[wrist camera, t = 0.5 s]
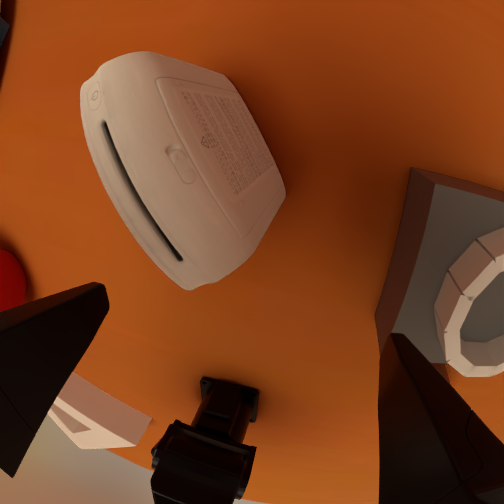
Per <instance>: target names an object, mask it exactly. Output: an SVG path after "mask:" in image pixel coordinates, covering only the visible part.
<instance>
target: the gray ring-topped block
mask: <svg viewBox="0 0 504 504" xmlns="http://www.w3.org/2000/svg"><path fill="white" fill-rule="evenodd" d="M375 321H376V328H377V335H378V343H379V351H380V356H381V353H382V350H383V347H384V345H385V342H386V339H387V337H388V335H389V334H390V333H392V332H393V333H402V334H404V335H405V336H406V337H407V338H408V339H409V340H410V341H411V342H412V343H413V344H414V345H415V346H416V347H417V349H418V350H419V351H420V352H421V353H422V354H423V355H424V356H425V357H426V358H427V359H428V360H429V361H430V363H445V364H449V365H451V366H452V367H453V368H454V369H456V370H457V371H458V372H459V373H461V374H462V375H463V376H465V377H491V375H492V376H494V375H496V374H499V373H501V372H503V371H504V192H501V191H498V190H495V189H492V188H489V187H486V186H482V185H479V184H475V183H472V182H468V181H465V180H461V179H458V178H454V177H450V176H446V175H442V174H438V173H434V172H430V171H426V170H421V169H417V168H412V167H411V171H410V177H409V183H408V188H407V194H406V199H405V204H404V209H403V214H402V218H401V223H400V227H399V231H398V236H397V240H396V244H395V248H394V252H393V256H392V259H391V263H390V267H389V270H388V274H387V277H386V281H385V284H384V288H383V291H382V294H381V297H380V301H379V304H378V307H377V310H376V313H375Z"/></svg>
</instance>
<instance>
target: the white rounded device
mask: <svg viewBox="0 0 504 504" xmlns="http://www.w3.org/2000/svg"><path fill="white" fill-rule="evenodd" d="M80 107H81V118H82V123H83V128H84V133H85V137H86V141H87V144H88V148H89V151H90V154H91V157H92V159H93V162H94V164H95V167H96V169H97V172H98V174H99V176H100V179H101V181H102V183H103V185H104V188H105V190H106V192H107V194H108V195H109V197H110V199H111V201H112V203H113V205H114V206H115V208H116V210H117V212H118V213H119V215H120V217H121V218H122V220H123V222H124V223H125V225H126V226H127V228H128V229H129V231H130V232H131V234H132V235H133V237H134V238H135V240H136V241H137V242H138V244H139V245H140V246H141V248H142V249H143V250H144V251H145V252H146V254H147V255H148V256H149V257H150V258H151V260H152V261H153V262H154V263H155V264H156V265H157V266H158V267H159V268H160V269H161V270H162V271H163V272H164V273H165V274H166V275H167V276H168V277H169V278H170V279H171V280H172V281H174V282H175V283H176V284H177V285H178V286H180V287H181V288H182V289H185V290H193V289H195V288H197V287H199V286H201V285H204V284H209V283H215V282H217V281H219V280H221V279H222V278H224V277H225V276H227V275H228V274H230V273H231V272H233V271H234V270H235V269H237V268H238V267H239V266H241V265H242V264H243V263H244V262H245V261H246V260H247V259H248V258H249V257H250V256H251V255H252V254H253V253H254V251H255V250H256V248H257V247H258V245H259V243H260V241H261V239H262V238H263V236H264V234H265V233H266V231H267V229H268V227H269V225H270V224H271V222H272V220H273V218H274V217H275V215H276V213H277V211H278V210H279V208H280V206H281V204H282V203H283V201H284V200H285V197H286V191H285V187H284V183H283V180H282V177H281V175H280V172H279V170H278V168H277V165H276V163H275V161H274V158H273V157H272V155H271V153H270V151H269V148H268V146H267V144H266V142H265V140H264V138H263V136H262V134H261V132H260V130H259V128H258V127H257V125H256V123H255V121H254V119H253V117H252V115H251V114H250V112H249V110H248V108H247V106H246V104H245V103H244V101H243V99H242V98H241V96H240V94H239V93H238V91H237V89H236V88H235V87H234V85H233V84H232V83H231V82H230V80H229V79H228V78H227V77H226V76H225V75H223V74H221V73H218V72H215V71H212V70H209V69H206V68H203V67H200V66H197V65H194V64H191V63H188V62H185V61H181V60H178V59H175V58H171V57H168V56H164V55H161V54H158V53H154V52H148V51H141V52H133V53H128V54H125V55H122V56H119V57H116V58H114V59H112V60H110V61H107V62H105V63H104V64H102V65H101V66H100V67H99V69H98V70H97V72H96V73H95V74H94V75H93V76H92V77H91V78H90V79H89V80H87V81H86V82H84V83H83V85H82V87H81V90H80Z"/></svg>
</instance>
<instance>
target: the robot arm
mask: <svg viewBox="0 0 504 504" xmlns="http://www.w3.org/2000/svg"><path fill="white" fill-rule="evenodd" d="M108 311H109V300H108V296H107V292H106V288H105V286H104V285H103V284H102V283H98V282H91V283H88V284H85V285H81V286H78V287H75V288H72V289H69V290H66V291H63V292H60V293H56V294H53V295H50V296H47V297H44V298H41V299H38V300H35V301H32V302H29V303H26V304H23V305H20V306H17V307H14V308H11V309H9V310H5V311H2V312H0V468H1V469H2V470H3V471H4V472H5V473H7V474H8V475H9V476H10V477H11V478H13V477H14V476H15V474H16V472H17V470H18V468H19V466H20V464H21V461H22V460H23V458H24V456H25V454H26V452H27V450H28V448H29V446H30V444H31V442H32V440H33V438H34V437H35V434H36V433H37V431H38V429H39V427H40V425H41V424H42V422H43V420H44V418H45V417H46V415H47V413H48V411H49V410H50V408H51V406H52V405H53V403H54V401H55V400H56V398H57V396H58V395H59V393H60V391H61V390H62V388H63V386H64V385H65V383H66V381H67V380H68V378H69V377H70V375H71V373H72V372H73V370H74V369H75V367H76V366H77V364H78V362H79V361H80V359H81V358H82V356H83V355H84V353H85V352H86V350H87V349H88V347H89V345H90V344H91V342H92V340H93V338H94V337H95V335H96V333H97V331H98V329H99V327H100V325H101V324H102V322H103V320H104V318H105V316H106V315H107V313H108ZM200 385H201V394H202V402H201V404H200V406H199V408H198V411H197V413H196V415H195V417H194V419H193V421H192V423H191V426H190V425H187V424H185V423H182V422H181V421H179V420H177V419H176V420H175V421H174V423H173V424H170V425H169V427H168V429H167V431H166V432H165V434H164V436H163V437H162V438H161V439H160V440H159V442H158V443H157V444H156V445H155V446H154V447H153V448H152V450H151V454H152V456H153V460H152V461H153V462H152V469H154V470H155V471H154V473H153V475H152V478H151V489H152V493H153V499H154V503H155V504H233V502H234V499H239V500H240V499H241V498H242V496H243V494H244V492H245V489H246V487H247V484H248V481H249V478H250V474H251V470H252V466H253V461H254V457H255V452H256V448H257V447H255V446H248V445H245V444H242V443H243V440H244V437H245V434H246V430H247V427H248V424H249V422H251V423H254V422H255V421H256V416H257V407H258V399H259V391H258V390H256V389H252V388H247V387H242V386H238V385H234V384H229V383H225V382H221V381H217V380H213V379H209V378H205V377H203V378H201V380H200ZM378 421H379V457H380V472H379V504H504V444H503V443H502V442H501V441H500V440H499V439H498V438H497V437H496V436H495V435H494V434H493V433H492V432H491V431H490V429H489V428H488V427H487V426H486V425H485V424H484V423H483V421H482V420H481V419H480V418H479V417H478V416H477V415H476V413H475V412H474V411H473V410H471V408H470V406H469V405H468V404H467V403H466V402H465V401H464V399H463V398H462V397H461V396H460V395H459V394H458V393H457V391H456V390H455V389H454V388H453V387H452V386H451V385H450V384H449V382H448V381H447V380H446V379H445V378H444V377H443V376H442V375H441V374H440V372H439V371H438V370H437V369H436V368H435V367H434V366H433V365H432V364H431V363H430V361H429V360H428V359H427V358H426V357H425V356H424V355H423V354H422V353H421V352H420V351H419V350H418V349H417V347H416V346H415V345H414V344H413V343H412V342H411V341H410V340H409V339H408V338H407V337H406V336H405V335H404V334H402V333H393V332H392V333H390V334H389V335H388V337H387V339H386V342H385V345H384V347H383V350H382V353H381V356H380V368H379V394H378Z"/></svg>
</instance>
